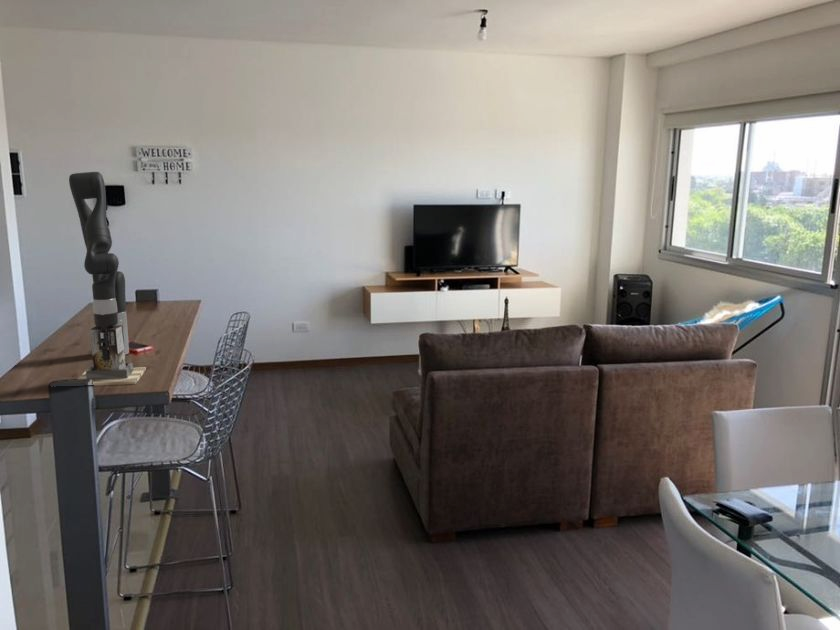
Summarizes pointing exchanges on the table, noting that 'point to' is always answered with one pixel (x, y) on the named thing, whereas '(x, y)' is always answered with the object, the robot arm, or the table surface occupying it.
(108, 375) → the mount plate
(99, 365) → the coffee box
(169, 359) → the table surface
